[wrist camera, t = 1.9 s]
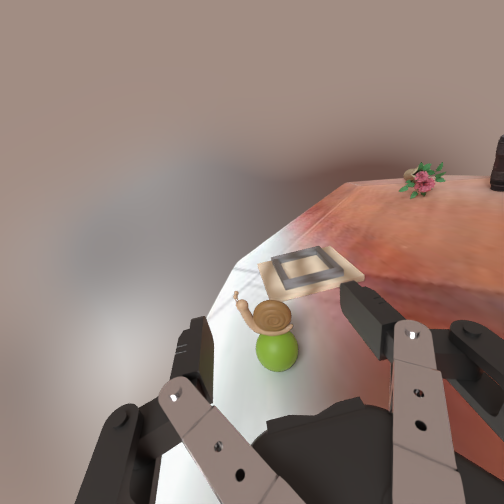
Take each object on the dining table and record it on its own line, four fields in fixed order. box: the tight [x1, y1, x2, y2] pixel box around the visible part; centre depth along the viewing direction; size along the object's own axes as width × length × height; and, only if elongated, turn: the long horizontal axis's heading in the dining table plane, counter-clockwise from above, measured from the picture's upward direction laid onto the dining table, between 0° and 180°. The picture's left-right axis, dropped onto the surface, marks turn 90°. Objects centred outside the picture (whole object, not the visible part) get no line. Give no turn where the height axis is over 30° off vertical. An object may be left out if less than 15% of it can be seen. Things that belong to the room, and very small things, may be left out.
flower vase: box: [399, 162, 445, 199], centre depth 79 cm, size 12×12×35 cm
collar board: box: [258, 246, 364, 302], centre depth 48 cm, size 18×14×3 cm
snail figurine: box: [233, 291, 298, 372], centre depth 28 cm, size 5×6×12 cm
